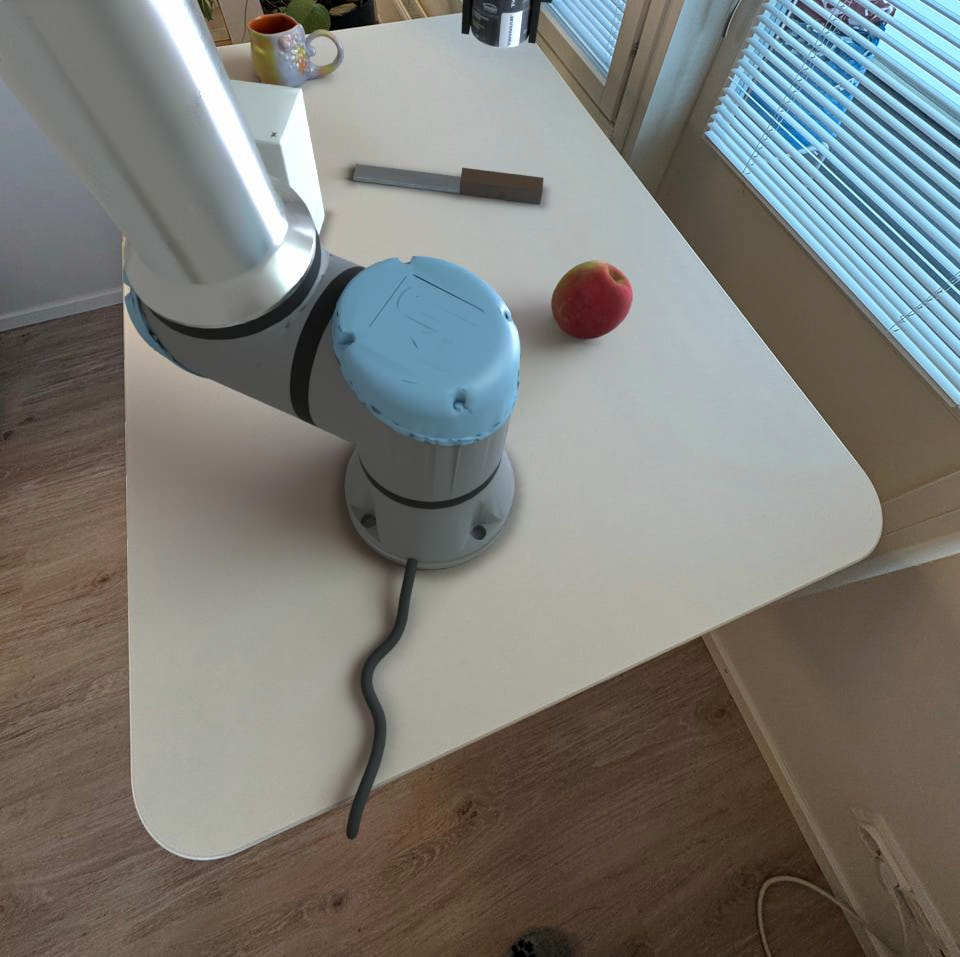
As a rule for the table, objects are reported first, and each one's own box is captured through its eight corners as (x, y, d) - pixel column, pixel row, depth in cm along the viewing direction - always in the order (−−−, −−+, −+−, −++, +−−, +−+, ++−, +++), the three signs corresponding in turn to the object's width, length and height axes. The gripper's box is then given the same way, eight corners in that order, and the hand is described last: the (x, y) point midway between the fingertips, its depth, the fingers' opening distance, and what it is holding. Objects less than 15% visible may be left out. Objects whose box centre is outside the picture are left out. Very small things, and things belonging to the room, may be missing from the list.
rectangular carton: (327, 214, 74) (305, 85, 61) (310, 270, 70) (282, 144, 57) (250, 204, 74) (210, 72, 61) (228, 259, 70) (181, 131, 56)
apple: (613, 362, 67) (635, 309, 60) (539, 343, 67) (552, 288, 60) (624, 310, 70) (646, 254, 63) (554, 292, 71) (568, 235, 64)
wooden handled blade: (541, 190, 79) (543, 177, 77) (540, 204, 78) (542, 191, 76) (357, 167, 78) (355, 154, 77) (353, 181, 77) (351, 168, 75)
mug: (253, 90, 84) (239, 36, 78) (259, 60, 87) (247, 6, 81) (345, 95, 85) (338, 42, 79) (348, 65, 88) (342, 12, 82)
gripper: (669, -335, 45) (594, 23, 65) (402, -373, 44) (411, -2, 65) (672, -301, 41) (592, 65, 62) (383, -343, 41) (399, 39, 62)
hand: (499, 30), depth 63 cm, fingers closed on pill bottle, 6 cm apart
